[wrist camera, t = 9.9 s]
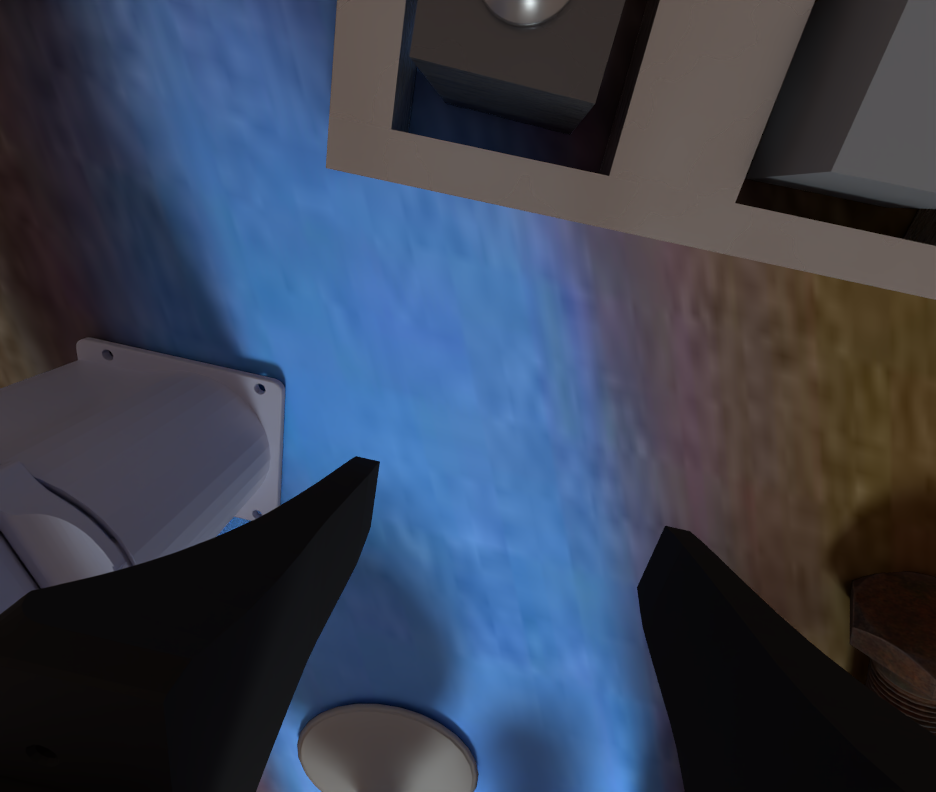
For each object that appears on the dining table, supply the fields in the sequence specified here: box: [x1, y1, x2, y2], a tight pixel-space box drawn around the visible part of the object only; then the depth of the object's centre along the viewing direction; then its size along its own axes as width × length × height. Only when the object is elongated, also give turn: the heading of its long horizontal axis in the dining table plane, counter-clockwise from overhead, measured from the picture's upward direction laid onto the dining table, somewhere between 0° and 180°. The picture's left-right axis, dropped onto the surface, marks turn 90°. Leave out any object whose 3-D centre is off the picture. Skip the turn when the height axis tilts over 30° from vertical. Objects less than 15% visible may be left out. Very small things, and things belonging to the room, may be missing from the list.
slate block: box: [746, 0, 936, 209], centre depth 13 cm, size 5×5×5 cm
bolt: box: [850, 571, 936, 735], centre depth 23 cm, size 6×5×15 cm
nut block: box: [409, 0, 625, 135], centre depth 13 cm, size 4×4×6 cm
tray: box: [326, 0, 936, 300], centre depth 14 cm, size 22×10×2 cm, turn 79°
